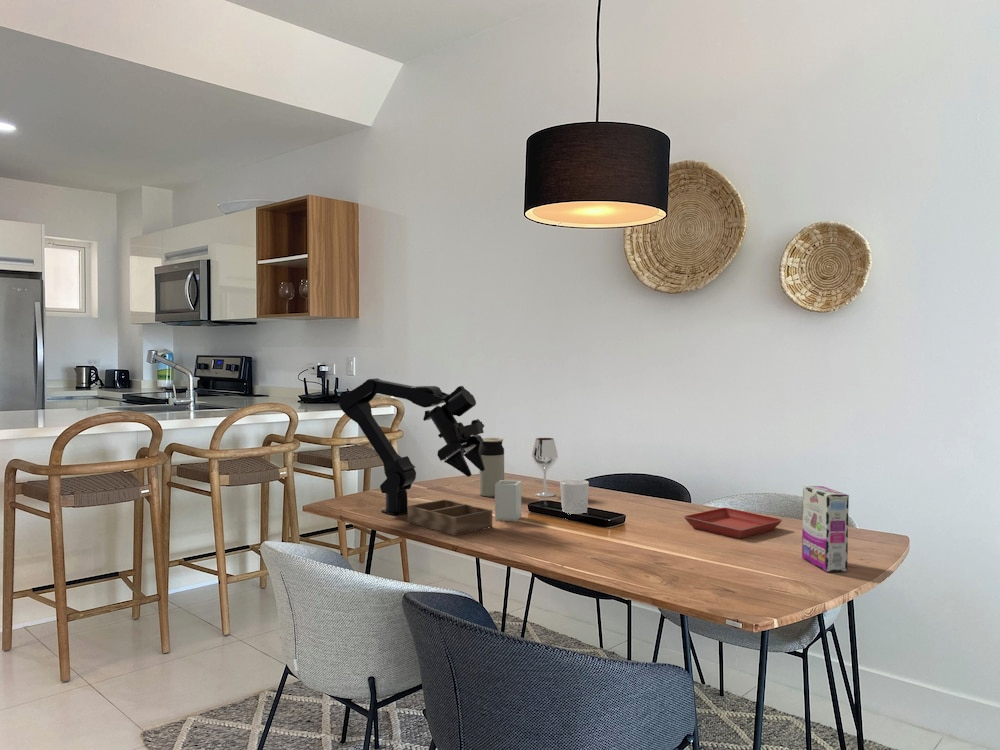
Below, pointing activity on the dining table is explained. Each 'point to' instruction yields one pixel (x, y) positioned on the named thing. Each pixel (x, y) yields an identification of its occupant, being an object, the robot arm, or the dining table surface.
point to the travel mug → (491, 465)
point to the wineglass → (544, 459)
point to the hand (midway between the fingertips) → (476, 473)
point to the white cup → (574, 496)
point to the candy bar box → (825, 528)
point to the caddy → (508, 500)
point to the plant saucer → (732, 522)
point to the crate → (450, 516)
